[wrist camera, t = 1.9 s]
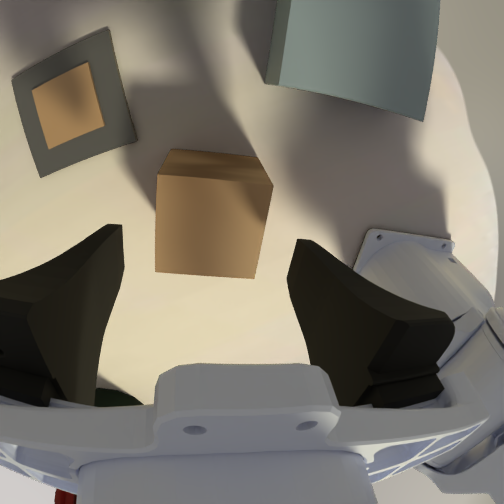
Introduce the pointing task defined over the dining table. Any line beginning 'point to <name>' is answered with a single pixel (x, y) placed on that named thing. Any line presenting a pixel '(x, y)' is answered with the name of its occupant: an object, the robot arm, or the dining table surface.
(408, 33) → the slate plinth
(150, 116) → the dining table surface
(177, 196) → the walnut cube
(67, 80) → the card
